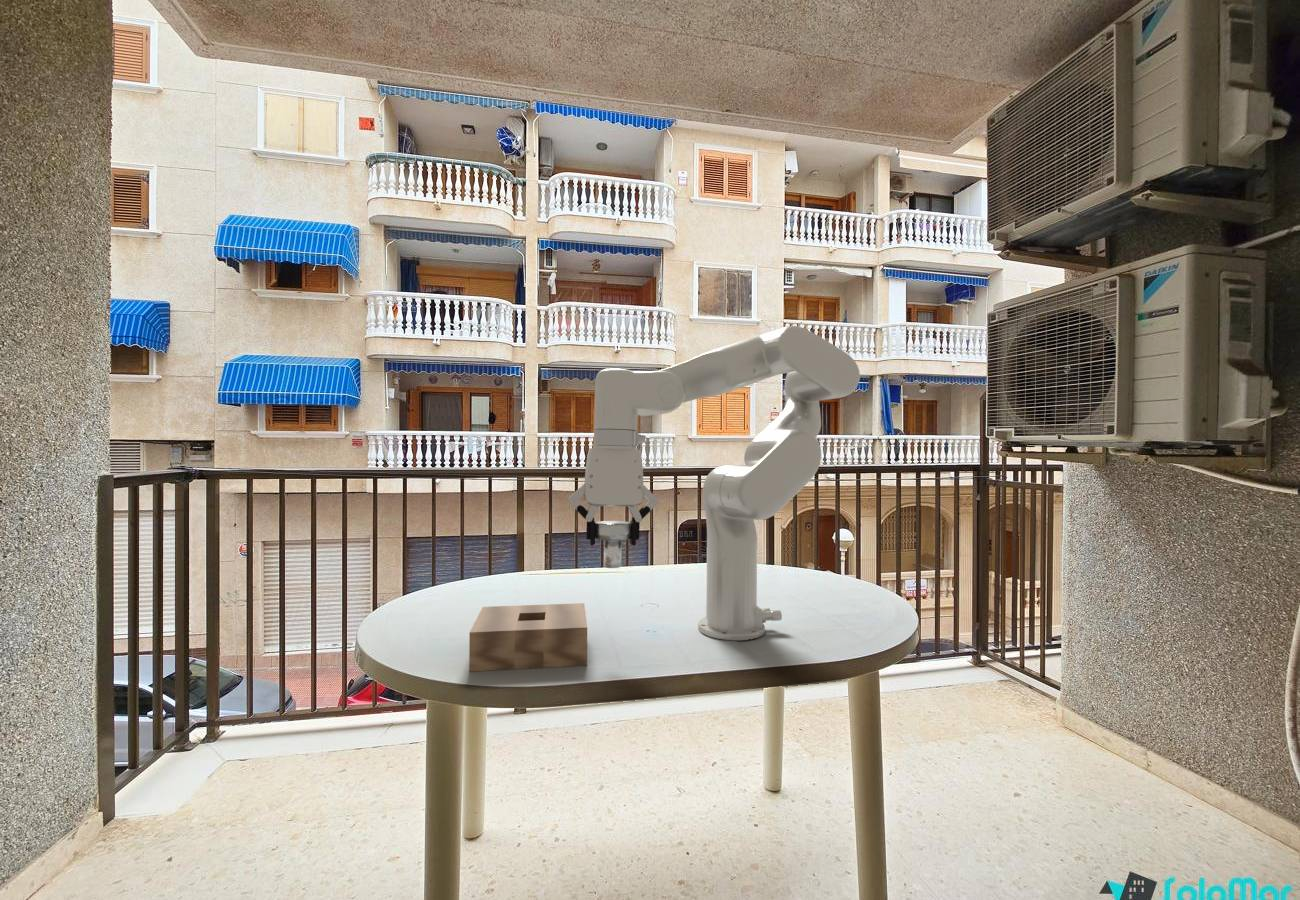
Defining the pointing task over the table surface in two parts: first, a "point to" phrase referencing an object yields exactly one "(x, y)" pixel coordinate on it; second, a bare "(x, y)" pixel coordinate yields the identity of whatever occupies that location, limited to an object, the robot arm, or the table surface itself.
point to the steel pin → (612, 540)
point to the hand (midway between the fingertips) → (612, 543)
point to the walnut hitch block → (528, 637)
